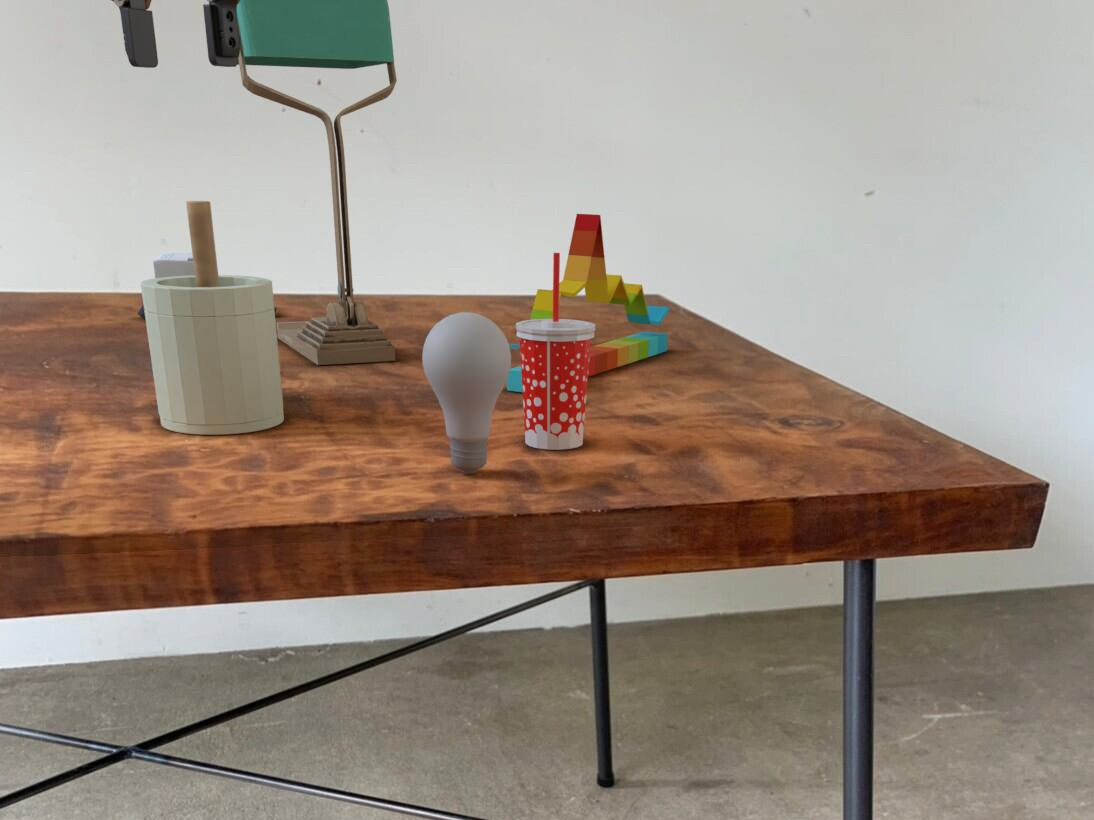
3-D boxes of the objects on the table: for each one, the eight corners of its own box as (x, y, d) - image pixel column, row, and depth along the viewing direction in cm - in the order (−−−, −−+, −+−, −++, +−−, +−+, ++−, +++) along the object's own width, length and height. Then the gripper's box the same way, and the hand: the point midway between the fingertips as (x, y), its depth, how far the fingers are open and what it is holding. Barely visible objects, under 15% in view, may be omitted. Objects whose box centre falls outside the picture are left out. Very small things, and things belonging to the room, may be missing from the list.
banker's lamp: (282, 367, 120) (246, -37, 104) (244, 337, 137) (207, -13, 121) (427, 358, 126) (414, -25, 110) (373, 331, 143) (354, -4, 127)
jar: (174, 439, 91) (154, 291, 86) (150, 414, 99) (130, 277, 94) (298, 428, 95) (286, 286, 90) (266, 405, 103) (253, 273, 98)
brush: (205, 417, 95) (179, 202, 87) (195, 409, 98) (169, 200, 90) (249, 414, 96) (227, 202, 89) (238, 406, 99) (216, 200, 92)
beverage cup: (599, 436, 94) (604, 250, 88) (583, 454, 89) (588, 258, 83) (526, 431, 95) (526, 248, 89) (506, 449, 90) (506, 254, 84)
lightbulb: (505, 462, 87) (504, 306, 81) (517, 483, 81) (517, 318, 76) (423, 464, 86) (417, 306, 80) (430, 486, 80) (423, 319, 75)
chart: (641, 348, 134) (648, 206, 128) (666, 350, 133) (675, 207, 126) (504, 390, 111) (504, 219, 104) (533, 394, 110) (534, 221, 103)
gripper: (37, -211, 78) (77, 65, 86) (182, -240, 72) (212, 62, 79) (127, -187, 84) (158, 71, 92) (269, -211, 77) (290, 68, 85)
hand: (183, 66), depth 85 cm, fingers open, 8 cm apart
